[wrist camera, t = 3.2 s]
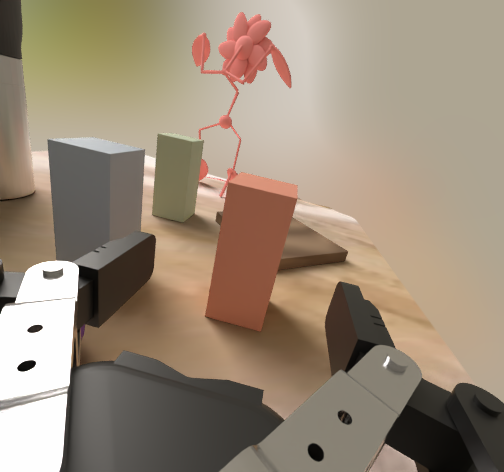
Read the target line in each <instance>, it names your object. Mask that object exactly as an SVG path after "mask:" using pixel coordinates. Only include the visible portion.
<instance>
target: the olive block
mask: <svg viewBox="0 0 504 472" xmlns="http://www.w3.org/2000/svg"><path fill="white" fill-rule="evenodd" d="M203 143H204V140H200V139H196V138H192V137H187V136H183V135H178V134H174V133H167V134H166V133H164V134H158V138H157V153H156V167H155V181H154V195H153V210H152V215H154V216H158V217H162V218H166V219H170V220H174V221H178V222H182V223H183V222H185V221H186V220H187V219H188V218H190V217H191V216H192V215H193V214H194V212H195V204H196V197H197V189H198V182H199V174H200V166H201V159H202V150H203Z"/></svg>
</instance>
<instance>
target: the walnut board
mask: <svg viewBox="0 0 504 472" xmlns="http://www.w3.org/2000/svg"><path fill="white" fill-rule="evenodd" d="M222 216H223V212H217V215H216V222H217V223H219V224H220V225H221V222H222ZM347 253H348V251H347V250H345V249H343V248H342V247H340V246H338V245H337V244H335V243H333V242H332V241H330V240H329V239H327V238H325V237H324V236H322V235H320V234H319V233H317V232H316V231H314V230H312V229H311V228H309V227H307V226H306V225H304V224H302V223H301V222H299V221H298V220H296V219H294V218H293V217H292V220H291V223H290V227H289V231H288V234H287V238H286V242H285V245H284V249H283V253H282V256H281V260H280V264H279V267H278V270H282V269H289V268H297V267H304V266H311V265H319V264H326V263H334V262H341V261H345V259H346V256H347Z"/></svg>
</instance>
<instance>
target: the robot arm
mask: <svg viewBox="0 0 504 472" xmlns="http://www.w3.org/2000/svg"><path fill="white" fill-rule="evenodd" d="M21 42H22V15H21V0H0V200H1V199H12V198H19V197H24V196H27V195H30V194H32V193H33V192H34V191H35V186H34V176H33V166H32V154H31V145H30V135H29V125H28V115H27V104H26V95H25V86H24V76H23V66H22V60H20V59H22V55H21ZM155 245H156V238H155V236H154V235H152V234H148V233H144V232H140V231H135V232H133V233H132V234H130V235H128V236H126V237H125V238H121V239H117V240H113V241H110V242H108V243H106V244H104V245H102V246H101V247H99V248H97V249H95V250H94V251H92V252H90V253H88V254H86V255H84V256H82V257H81V258H79V259H77V260H75V261H73V262H72V263H71V262H66V261H50V262H44V263H40V264H37V265H35V266H33V267H31V268H30V269H28V270H27V272H26V273H20V272H4V271H3V264H2V260H1V259H0V472H369V470H370V469H371V467H372V465H373V464H374V462H375V460H376V459H377V457H378V455H379V453H380V452H381V450H382V448H383V447H384V445H385V443H386V444H387V445H389V446H391V447H392V448H394V449H396V450H397V451H399V452H401V453H402V454H404V455H406V456H407V457H409V458H411V459H412V460H414V461H415V464H416V467H417V470H418V472H504V403H503V402H501V401H500V400H499V399H498V398H496V397H495V396H493V395H492V394H490V393H489V392H487V391H485V390H483V389H482V388H479V387H477V386H475V385H472V384H468V383H459V384H457V385H456V386H455V388H454V389H453V391H452V393H451V392H449V391H446V390H444V389H442V388H440V387H438V386H436V385H434V384H432V383H430V382H428V381H426V380H424V379H423V378H422V373H421V370H420V368H419V367H418V365H417V364H416V363H415V362H414V361H413V360H412V359H411V358H410V357H409V356H407V355H406V354H405V353H403V352H401V351H400V350H397V349H396V348H395V346H394V343H393V341H392V339H391V337H390V335H389V333H388V330H387V328H386V327H385V324H384V322H383V320H382V317H381V315H380V313H379V311H378V309H377V308H376V307H375V306H374V305H373V304H372V303H371V302H370V301H368V300H364V298H363V296H362V293H361V291H360V288H359V286H356V285H352V284H348V283H344V282H339V283H338V284H337V286H336V289H335V292H334V295H333V297H332V300H331V303H330V306H329V309H328V312H327V315H326V320H325V330H326V338H327V345H328V352H329V359H330V366H331V373H332V377H331V378H330V379H329V380H328V381H327V382H326V383H325V384H324V385H323V386H321V387H320V388H319V389H318V390H317V391H316V392H315V393H314V394H313V395H312V396H311V397H310V398H308V399H307V400H306V401H305V402H304V403H303V404H302V405H301V406H300V407H299V408H298V409H297V410H295V411H294V412H293V413H292V414H291V415H290V416H289V417H288V418H287V419H286V420H284V419H283V418H282V417H281V416H279V415H278V414H277V413H276V412H275V411H273V410H272V409H271V408H269V407H268V406H266V405H265V404H263V403H262V398H263V391H264V390H261V389H258V388H254V387H251V386H247V385H244V384H240V383H237V382H233V381H230V380H218V379H200V378H189V377H186V376H184V375H183V374H181V373H179V372H177V371H176V370H174V369H172V368H171V367H169V366H167V365H165V364H164V363H162V362H160V361H158V360H156V359H153V358H149V357H146V356H142V355H139V354H135V353H132V352H128V351H125V350H124V351H123V352H122V353H121V354H120V356H119V357H118V358H117V359H116V360H115V361H99V362H92V363H88V364H83V365H80V343H81V327H82V326H83V325H85V324H87V325H90V326H94V327H97V328H99V327H100V326H101V325H102V324H103V323H104V322H105V321H106V320H107V319H109V318H110V317H111V316H112V315H113V314H114V313H115V312H116V311H117V310H118V309H119V308H120V307H121V306H122V305H123V304H124V303H125V302H126V301H127V300H128V299H130V298H131V297H132V296H133V295H134V294H135V293H136V292H137V291H138V290H139V289H140V288H141V287H142V286H143V285H144V284H145V283H146V282H147V281H148V280H149V279H150V277H151V275H152V273H153V269H154V258H155Z"/></svg>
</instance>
